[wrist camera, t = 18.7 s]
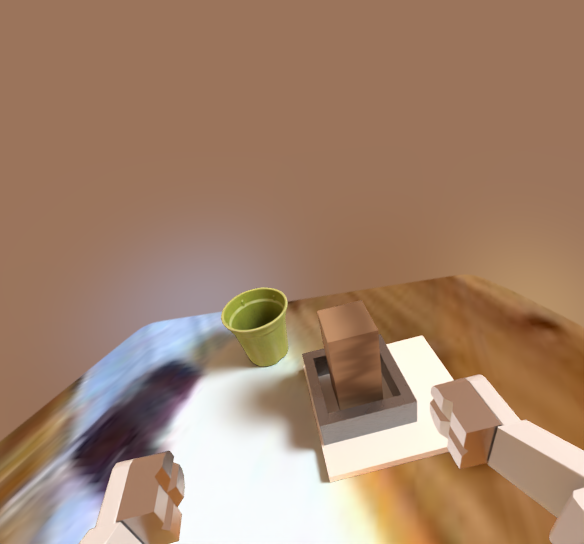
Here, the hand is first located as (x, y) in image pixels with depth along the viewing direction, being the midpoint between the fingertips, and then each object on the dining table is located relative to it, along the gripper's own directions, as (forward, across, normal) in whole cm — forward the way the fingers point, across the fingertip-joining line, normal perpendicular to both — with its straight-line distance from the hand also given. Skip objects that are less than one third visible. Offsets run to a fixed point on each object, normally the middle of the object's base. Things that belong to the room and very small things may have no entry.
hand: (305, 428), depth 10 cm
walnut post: (+20, -6, +26) cm, 33 cm away
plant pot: (+32, +4, +28) cm, 42 cm away
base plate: (+19, -9, +27) cm, 34 cm away
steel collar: (+20, -6, +27) cm, 34 cm away
